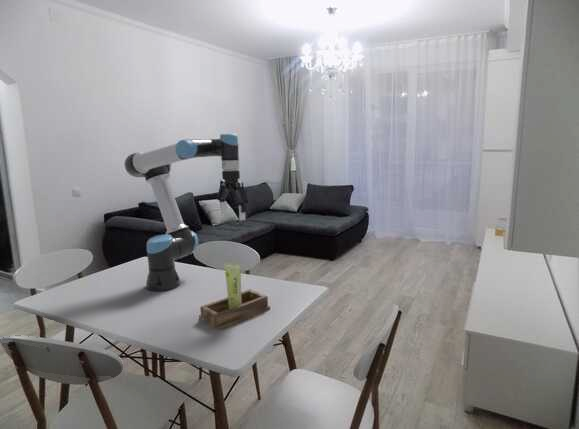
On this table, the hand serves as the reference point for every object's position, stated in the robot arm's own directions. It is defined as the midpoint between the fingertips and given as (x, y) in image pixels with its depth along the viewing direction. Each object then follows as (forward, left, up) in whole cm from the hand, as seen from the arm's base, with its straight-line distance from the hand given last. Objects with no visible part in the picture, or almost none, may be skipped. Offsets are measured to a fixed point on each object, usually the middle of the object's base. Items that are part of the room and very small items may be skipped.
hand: (233, 218), depth 175 cm
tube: (+22, -17, -32) cm, 42 cm away
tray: (+22, -17, -33) cm, 43 cm away
